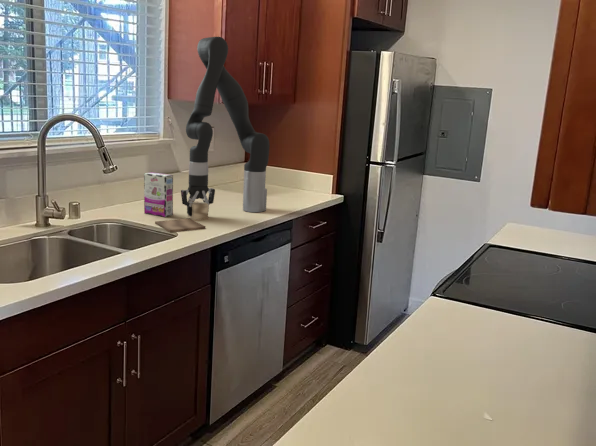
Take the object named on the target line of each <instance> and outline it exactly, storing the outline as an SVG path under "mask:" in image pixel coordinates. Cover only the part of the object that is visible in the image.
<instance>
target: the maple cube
mask: <svg viewBox="0 0 596 446" xmlns="http://www.w3.org/2000/svg"><path fill="white" fill-rule="evenodd" d="M191 207H192V216H189V215H188V214H187V218H190V219H192V220H194V221H198V220H208V219H209V212H208V204H207V203H205V202H203V200H201V201H199V200H198V201H196V200H195V201H194V202H193V204H192V206H191Z"/></svg>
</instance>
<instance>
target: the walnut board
mask: <svg viewBox="0 0 596 446" xmlns="http://www.w3.org/2000/svg"><path fill="white" fill-rule="evenodd" d="M154 224H155V225H157V226H158V227H160V228H162V229H164V230H165V231H167V232H169V233H175V232H185V231H194V230H195V231H196V230H204V229H205V230H206V226H205V225H204V224H201V223H199V222H197V220H193V219H191V218H189V217H187V218H180V219H178V218H177V219H169V220H168V219H167V220H158V221H154Z"/></svg>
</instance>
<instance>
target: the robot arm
mask: <svg viewBox="0 0 596 446" xmlns="http://www.w3.org/2000/svg"><path fill="white" fill-rule="evenodd" d="M196 48H197V50H196V51H197V54H198V57H199V58H200V60H201V62H202V65H203V66H204V67H205V68H206V70H205V74H204V76H203V78H202V80H201V82H200V84H199V85H198V88H197V90H196V93H195V99H194V104H193V109H192V111H191V114H190V116H189V118H188V120H187V122H186V125H185V132H186V133H185V134H186V136H187V137H188V138H189V139H191V140H196V141H197V140H198V141H197V144H196V145H194V146H193V145H192V146H191V147H190V148H189V164H188V188H186V189H181V190H180V194H181V195H180V196H181V203H182V205H184V206H186V214H187V216H188V215H189V216H192V207H191V206H192V204H193V202H196V200H199V199H201V201H203V202H205V203H207V204H208V213H209V208H210V207H209V205H212V204H214V201H215V200H214V199H215V194H216V189H215V188H213V187H210V188H209V187H208V186H209V148H210V146H211V142H212V139H213V135H214V133H213V132H214V131H213V127H212V125H211V124H210V123H209V122H206V121H204V118H208V117H210V116H211V115H212V112H213V107H214V101H215V96H216V92H218V94H219V96H220V98H221V101H222V103H223V105H224V107H225V109H226V111H227V114H228V115H229V117H230V119H231V122H232V124H233V125H234V128H235V131H236V133H237V137H238V139H239V142H240V145H241V147H242V149H243V150H244V151H245V152H246V153H248V154H249V159H248V161H247V162H244V166H243V188H242V189H243V192H242V193H243V194H242V210H243V212H244V211H245V212H248V213H261V212H264V211H267V200H268V198H267V196H268V189H267V188H266V180H267V179H266V178H267V177H266V176H267V175H266V174H267V167H268V165H269V158H270V157H269V156H270V140H269V137H268V136H267V134H264V133H261V132H257V131H256V130H255V129H254V127H253V125H252V123H251V121H250V117H249V102H248V98H247V96H246V95H245V93H244V90H243V88H242V86H241V85H240V84H239V82H238V80H236V79H235V78H234V77H233V76H232V75H231V74H230V72H228V70H227V69H226V67H225V64H226V60H227V57H228V54H229V46H228V43H227V41H226V40H225V39H224V38H223V37H222V36H210V37H209V36H208V37H204V38H201V39H200V40H199V41H198V44H197V45H196ZM207 193H208V197H207Z"/></svg>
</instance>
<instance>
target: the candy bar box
mask: <svg viewBox="0 0 596 446" xmlns="http://www.w3.org/2000/svg"><path fill="white" fill-rule="evenodd" d="M143 182H144V183H143V189H144V190H143V194H144V195H143V196H144V197H143V198H144V199H143V200H144V201H143V202H144V203H143V204H144V208H143V209H144V210H143V211H144V214H146V215H152V216H156V217H157V216H158V217H164V218H168V217H171V216H173V215H174V175H172V174H167V173H160V172H159V173H158V172H154V171H153V172H152V171H151V172H145V173H144V174H143Z"/></svg>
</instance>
